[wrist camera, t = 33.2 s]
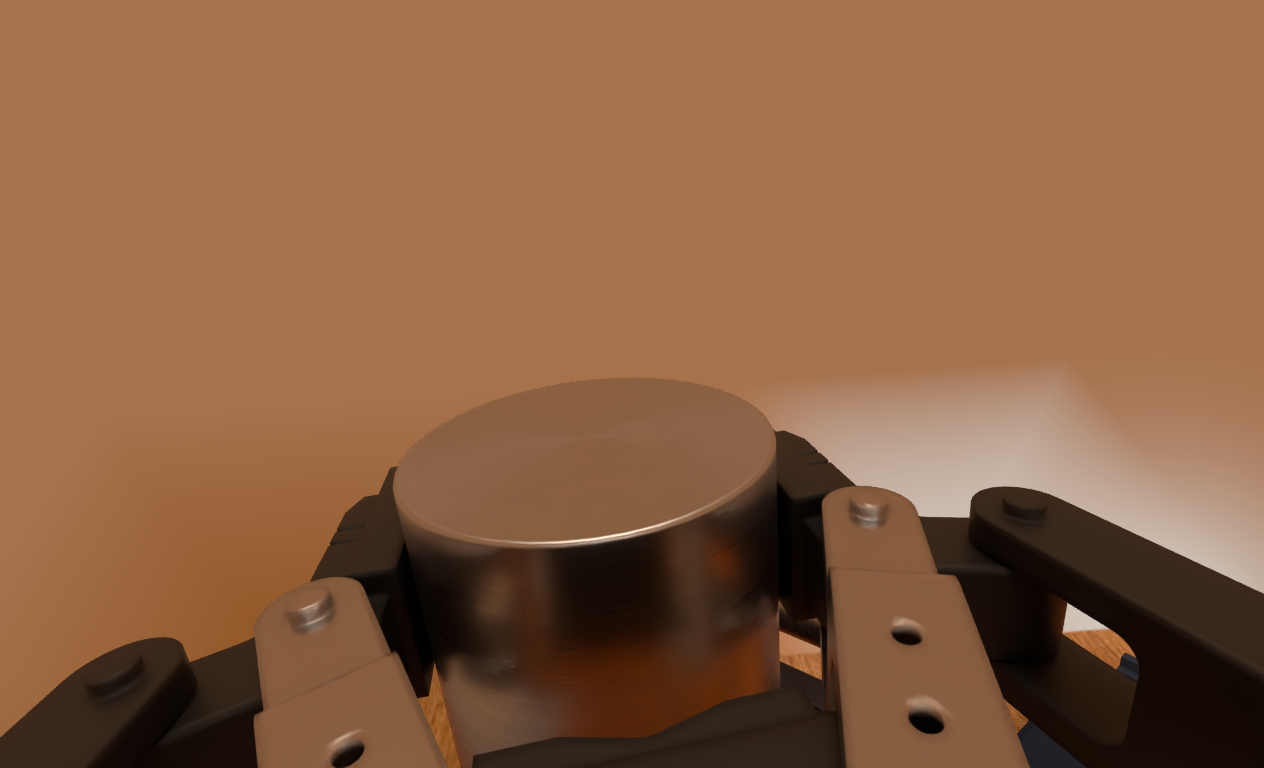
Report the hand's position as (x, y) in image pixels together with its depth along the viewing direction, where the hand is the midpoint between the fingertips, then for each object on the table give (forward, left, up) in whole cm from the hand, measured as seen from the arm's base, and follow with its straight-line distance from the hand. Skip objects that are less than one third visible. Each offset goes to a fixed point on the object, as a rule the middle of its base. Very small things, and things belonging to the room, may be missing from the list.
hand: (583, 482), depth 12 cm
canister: (0, -2, -10) cm, 10 cm away
